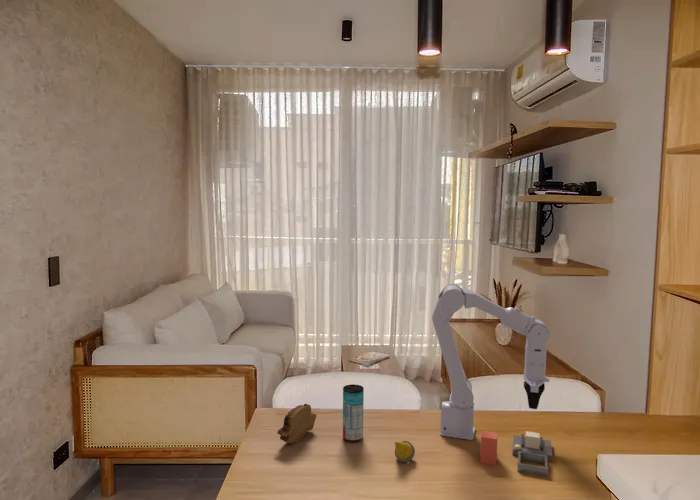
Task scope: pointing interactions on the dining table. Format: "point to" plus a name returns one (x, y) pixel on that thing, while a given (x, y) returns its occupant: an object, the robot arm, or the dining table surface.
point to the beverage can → (353, 412)
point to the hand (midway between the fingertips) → (533, 408)
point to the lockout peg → (488, 447)
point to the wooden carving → (297, 423)
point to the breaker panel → (543, 448)
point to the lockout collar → (531, 468)
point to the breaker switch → (532, 440)
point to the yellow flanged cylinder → (404, 451)
